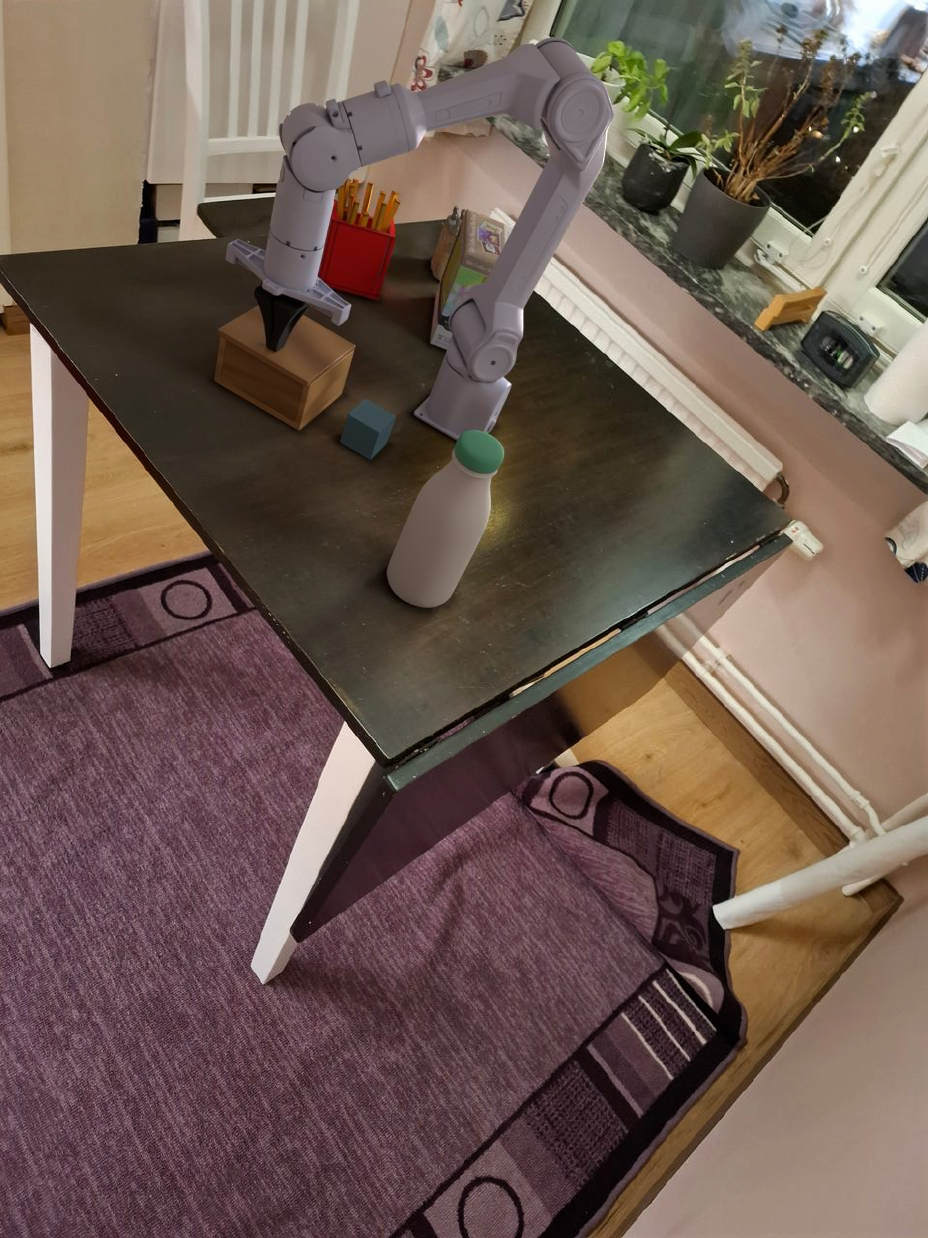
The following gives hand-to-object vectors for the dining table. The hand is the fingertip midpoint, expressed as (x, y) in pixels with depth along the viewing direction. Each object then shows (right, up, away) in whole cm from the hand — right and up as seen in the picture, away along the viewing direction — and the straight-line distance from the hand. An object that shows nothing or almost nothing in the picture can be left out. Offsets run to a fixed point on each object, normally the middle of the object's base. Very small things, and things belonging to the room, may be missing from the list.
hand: (275, 346), depth 95 cm
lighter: (+18, +26, +41) cm, 52 cm away
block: (+9, -10, +7) cm, 15 cm away
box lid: (+1, +1, +3) cm, 3 cm away
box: (-1, -3, +8) cm, 8 cm away
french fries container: (+4, +19, +29) cm, 35 cm away
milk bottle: (+17, -28, -5) cm, 33 cm away
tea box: (+22, +13, +32) cm, 41 cm away
